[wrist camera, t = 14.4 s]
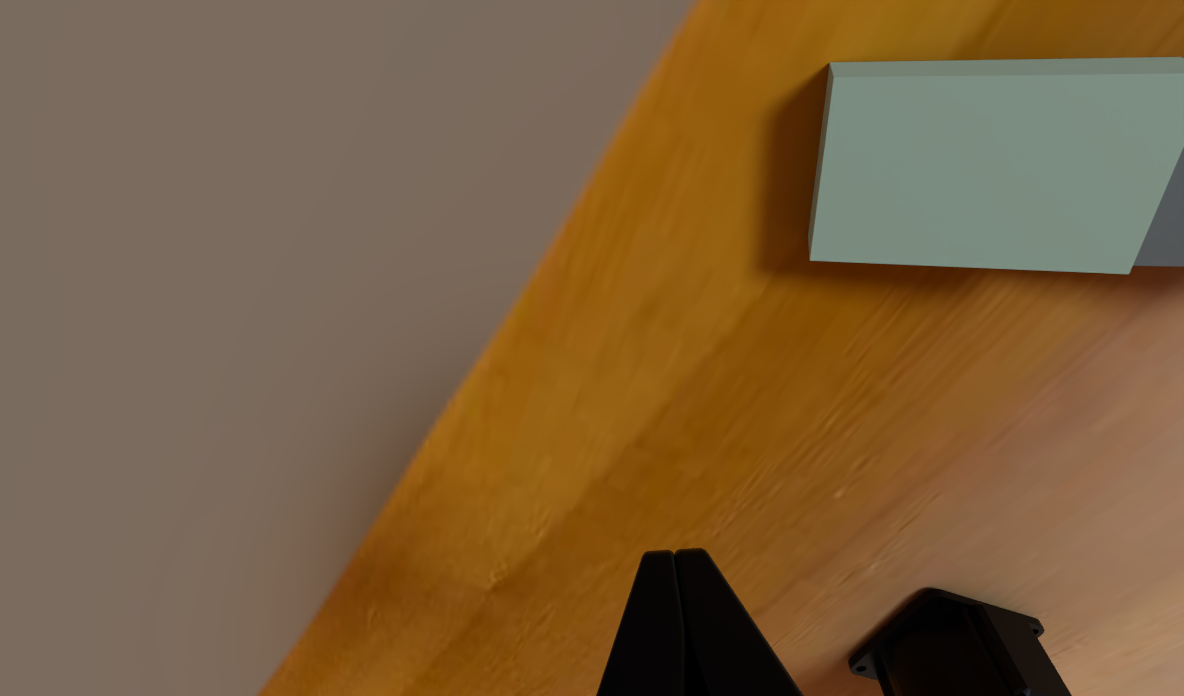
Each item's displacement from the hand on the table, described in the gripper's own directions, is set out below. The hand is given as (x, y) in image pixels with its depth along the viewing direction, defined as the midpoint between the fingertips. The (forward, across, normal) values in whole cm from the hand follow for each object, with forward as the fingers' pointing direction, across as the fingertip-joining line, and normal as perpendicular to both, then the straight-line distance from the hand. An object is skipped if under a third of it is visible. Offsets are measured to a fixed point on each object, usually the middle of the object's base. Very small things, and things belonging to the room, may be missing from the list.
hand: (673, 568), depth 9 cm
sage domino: (+12, -5, -1) cm, 13 cm away
